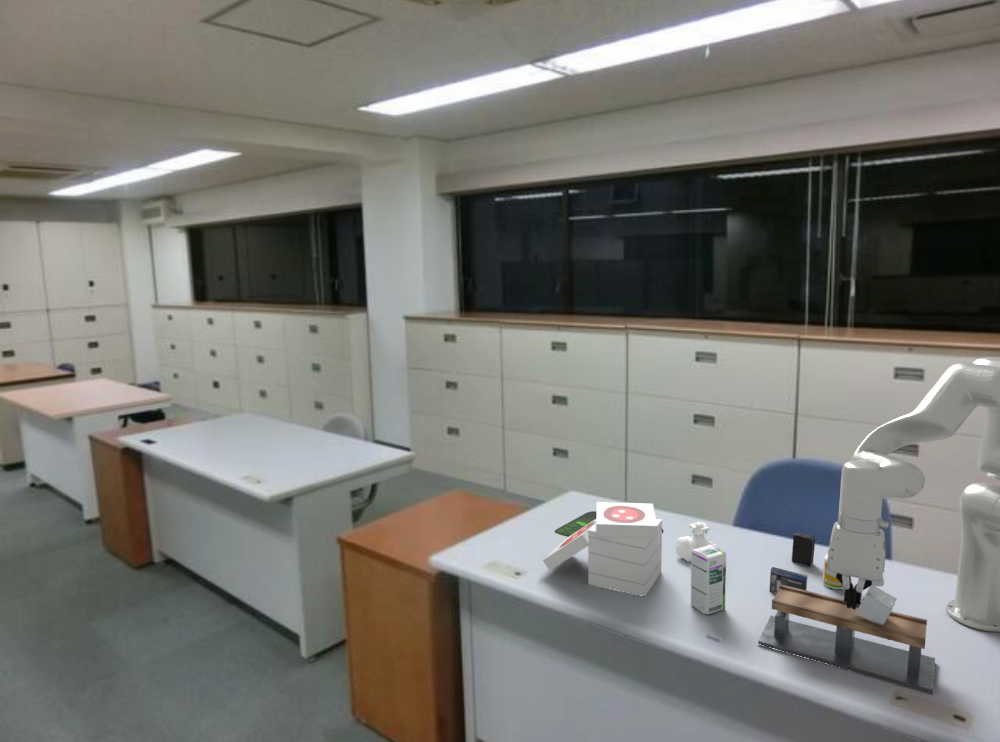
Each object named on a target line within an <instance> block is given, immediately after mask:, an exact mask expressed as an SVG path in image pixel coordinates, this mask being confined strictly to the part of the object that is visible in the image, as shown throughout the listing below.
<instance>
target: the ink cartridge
mask: <svg viewBox="0 0 1000 742" xmlns="http://www.w3.org/2000/svg"><path fill="white" fill-rule="evenodd" d="M792 540H793V541H792V551H791V552H792V554H791V561H792V562H793V563H795V564H799V565H802V566H806V567H811V566H812V565H813V563H814V557H815V547H816V545H815V544H816V537H814V536H813V535H810V534H805V533H803V532H795V533H794V534H793V539H792Z"/></svg>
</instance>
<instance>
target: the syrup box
mask: <svg viewBox="0 0 1000 742" xmlns="http://www.w3.org/2000/svg"><path fill="white" fill-rule="evenodd" d="M690 566H691V567H690V572H691V573H690V606H692V607H693V606H694V608H695V609H696V608H697V609H696V610H698V609H699V610H700V611H699V610H698V611H699V612H701V611H702V612H701V613H703V612H704V613H705V614H704V613H703V614H704V615H706V614H707V616H709V615H711V614H714V613H717V612H719V611H723V610H725V609H726V581H727V579H726V573H727V553H726V552H725V551H724V550H723V549H720V548H719V547H718V548H716V547H714V546H711V545H707V546H705V547H701V548H697V549H693V550H691V562H690ZM708 614H709V615H708Z"/></svg>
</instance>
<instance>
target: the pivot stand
mask: <svg viewBox="0 0 1000 742" xmlns="http://www.w3.org/2000/svg"><path fill="white" fill-rule="evenodd" d="M855 632H856V631H854V630H850V629H847V631H846V632H843V631H841V629H840V627H839V626H836V629H835V631H831V630H829V629H826V628H820V627H817V626H813V625H810V624H806V623H801V622H798V621H794V620H790V614H789V613H785V612H782V611H778V610H776V613H775V615H770V617H769V618H768V621H767V622H766V625H765V626H764V629H763V630H762V632H761V634H760V636H759V639H758V641H757V642H758V644H761V645H764V646H767V647H771V648H775V649H778V650H781V651H784V652H783V653H785V652H788V653H791V654H790V655H792V654H795V655H799V656H802V657H806V658H809V659H813V660H816V661H820V662H823V663H827V664H829V665H828V666H830V665H833V666H832V667H834V666H836V667H835V668H837V667H840V668H839V669H841V668H843V669H842V670H844V669H845V671H848V670H850V671H849V672H851V671H853V672H852V673H855V674H858V673H859V674H858V675H862V676H866V677H869V678H873V679H877V680H880V681H883V682H887V683H889V684H890V683H891V684H894V685H896V686H897V685H898V686H901V687H905V688H908V689H912V690H915V691H918V692H922V693H926V694H929V695H934V687H935V686H934V684H935V664H936V658H935V657H933V656H932V657H931V656H927V655H924V654H922V648H919V647H915V646H911V645H908V646H909V648H908V650H905V649H901V648H898V647H893V646H890V645H886V644H883V643H878V642H874V641H870V640H867V639H863V638H859V637H856V636H855ZM764 646H763V647H764ZM767 647H766V648H767ZM771 648H770V649H771ZM778 650H777V651H778ZM781 651H780V652H781ZM788 653H787V654H788ZM795 655H794V656H795ZM799 656H798V657H799ZM802 657H801V658H802ZM806 658H805V659H806ZM809 659H808V660H809ZM813 660H812V661H813ZM816 661H815V662H816ZM820 662H819V663H820ZM823 663H822V664H823ZM827 664H826V665H827Z"/></svg>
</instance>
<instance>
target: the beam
mask: <svg viewBox="0 0 1000 742" xmlns="http://www.w3.org/2000/svg"><path fill="white" fill-rule="evenodd" d="M859 606H860V605H857V606H856V609H855V610H854V609H852V606H851V608H847V602H845V601H844V598H843V599H842V598H839V597H838V598H837V597H833V596H829V595H827V594H821V593H817V592H813V591H809V590H807V591H806V590H802V589H797V588H793V587H789V586H785V585H781V584H780V586H779V590H778V592H777V593H775V595H774V598H772V600H771V610H775V611H782V612H785V613H789V615H793V616H797V617H802V618H804V619H805V618H806V619H808V620H813V621H816V622H820V623H825V624H828V625H831V626H836V627H837V626H839V627H840V629H841V631H843V632H846V631H847V629H850V630H854V631H855V632H858V633H862V634H866V635H870V636H874V637H876V638H881V639H885V640H890V641H893V642H897V643H901V644H903V645H904V644H905V645H908V646H909V645H911V646H915V647H919V648H921V649H922V650H925V649H926V637H927V635H926V634H927V625H928V619H924V618H920V617H917V616H912V615H909V614H904V613H900V612H897V611H893V610H892V611H891V613H890V614H889V616H888V618H887V619H886V621H885V623H884V624H883V626H878V625H875V624H873V623H871V622H870V621H868V620H866V619H865V618H863V617H861V616H860V615H858V614H856V611H857V609H858V607H859Z"/></svg>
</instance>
